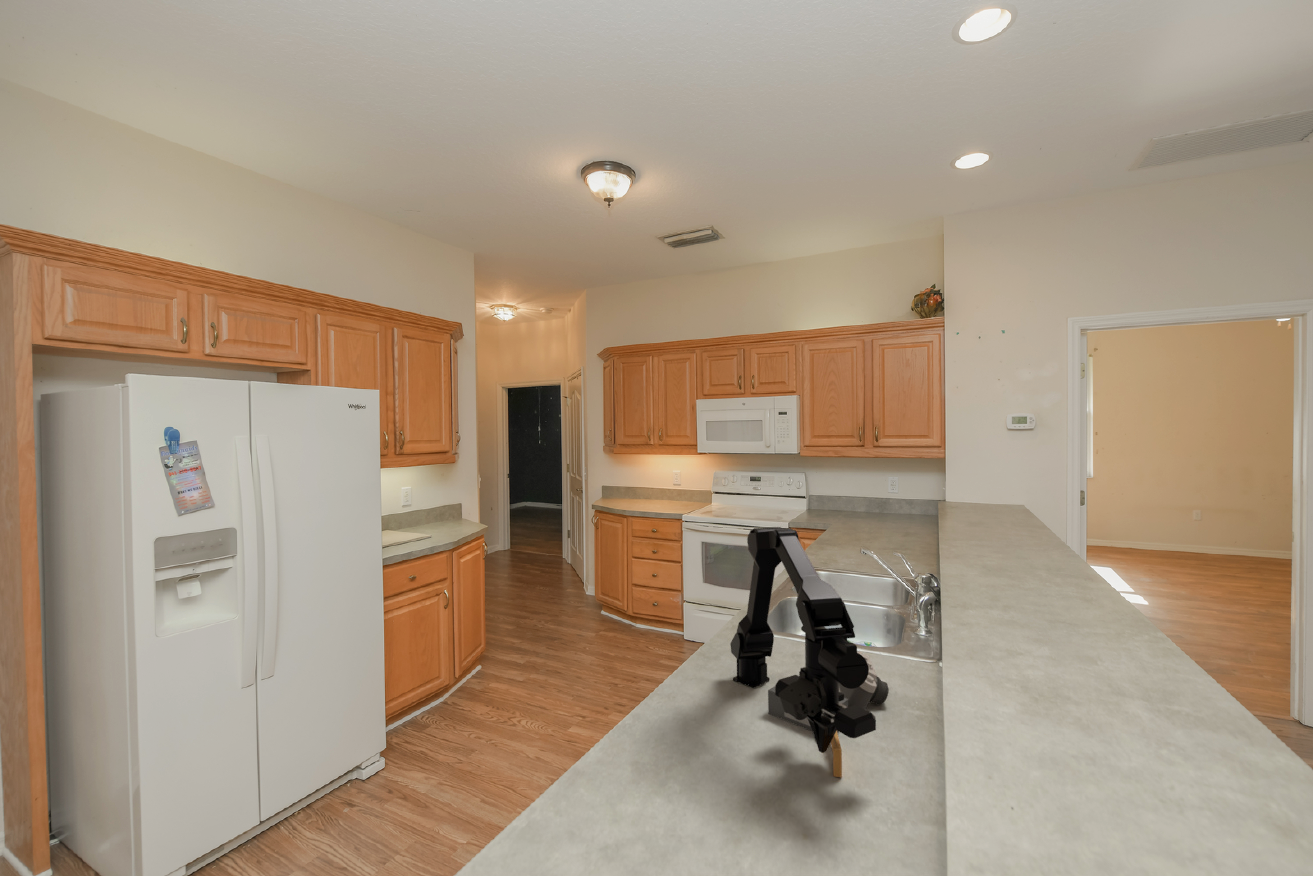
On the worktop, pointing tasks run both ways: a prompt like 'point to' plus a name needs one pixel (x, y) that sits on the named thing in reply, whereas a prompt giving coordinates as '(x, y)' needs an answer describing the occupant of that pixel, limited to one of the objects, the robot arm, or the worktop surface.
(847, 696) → the camera
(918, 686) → the worktop surface
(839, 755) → the brown rectangular block
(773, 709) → the case
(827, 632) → the robot arm
